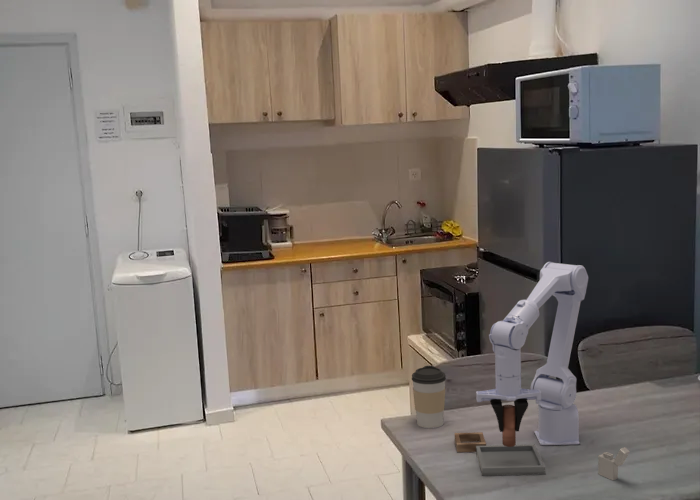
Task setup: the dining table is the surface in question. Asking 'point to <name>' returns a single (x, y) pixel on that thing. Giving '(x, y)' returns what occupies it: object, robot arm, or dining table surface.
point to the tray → (510, 460)
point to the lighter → (611, 463)
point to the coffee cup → (429, 396)
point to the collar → (469, 437)
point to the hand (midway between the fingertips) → (508, 429)
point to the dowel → (509, 426)
